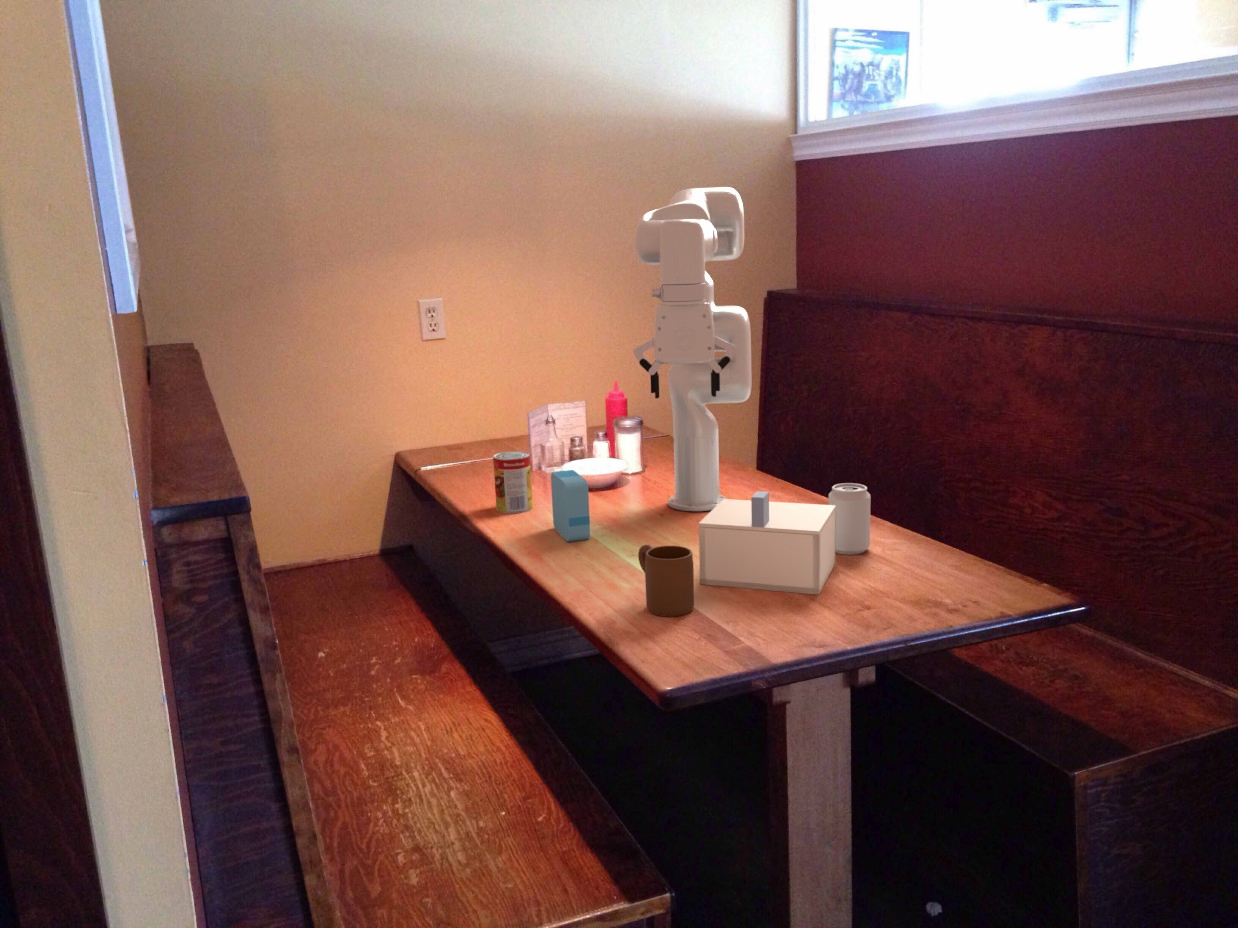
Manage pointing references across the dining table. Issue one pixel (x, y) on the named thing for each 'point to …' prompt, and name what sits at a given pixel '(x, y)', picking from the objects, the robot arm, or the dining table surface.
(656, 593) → the mug
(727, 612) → the dining table surface
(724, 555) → the mailer box
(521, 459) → the canned food
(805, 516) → the flap
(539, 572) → the dining table surface
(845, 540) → the can
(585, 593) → the dining table surface
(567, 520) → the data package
